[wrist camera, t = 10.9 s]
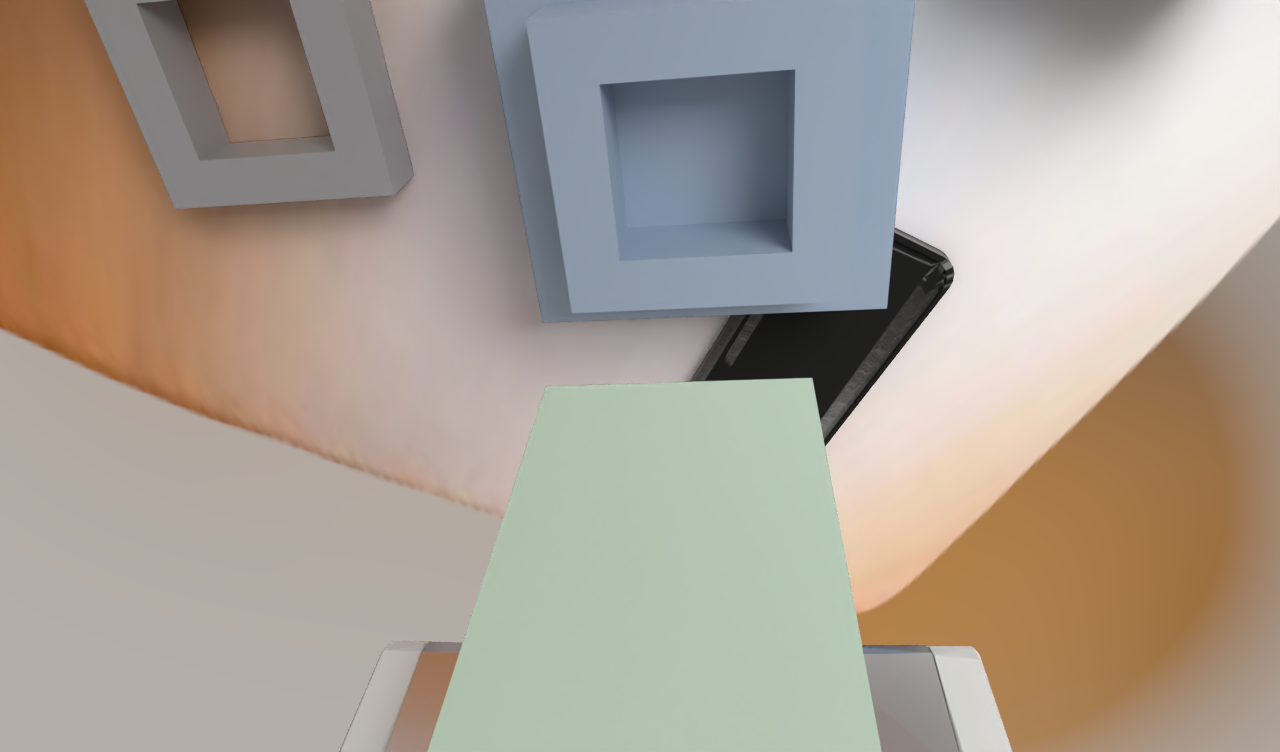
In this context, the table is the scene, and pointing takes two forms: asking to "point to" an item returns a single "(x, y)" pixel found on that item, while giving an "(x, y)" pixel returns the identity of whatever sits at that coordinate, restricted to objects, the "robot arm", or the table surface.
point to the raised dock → (705, 152)
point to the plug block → (666, 583)
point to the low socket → (270, 169)
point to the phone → (835, 336)
